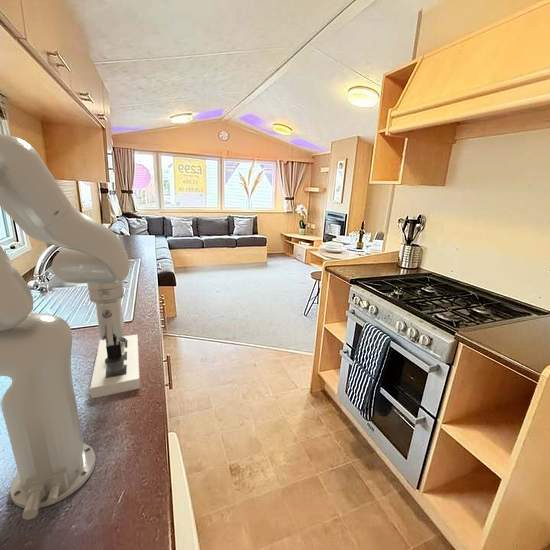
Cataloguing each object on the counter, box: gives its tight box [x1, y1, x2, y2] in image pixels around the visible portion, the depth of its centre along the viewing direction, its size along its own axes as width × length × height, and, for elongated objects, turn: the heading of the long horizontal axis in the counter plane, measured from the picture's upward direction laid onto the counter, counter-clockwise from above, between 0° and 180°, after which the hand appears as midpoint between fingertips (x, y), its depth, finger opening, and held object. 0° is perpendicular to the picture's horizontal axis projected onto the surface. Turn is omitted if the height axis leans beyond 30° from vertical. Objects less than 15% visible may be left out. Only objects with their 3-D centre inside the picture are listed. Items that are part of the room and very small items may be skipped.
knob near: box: [105, 355, 125, 377], centre depth 81 cm, size 5×5×4 cm
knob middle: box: [120, 342, 125, 358], centre depth 87 cm, size 5×5×4 cm
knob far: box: [119, 337, 126, 348], centre depth 95 cm, size 5×5×4 cm
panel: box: [89, 334, 141, 399], centre depth 88 cm, size 26×11×3 cm, turn 24°
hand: (114, 356), depth 80 cm, fingers closed
